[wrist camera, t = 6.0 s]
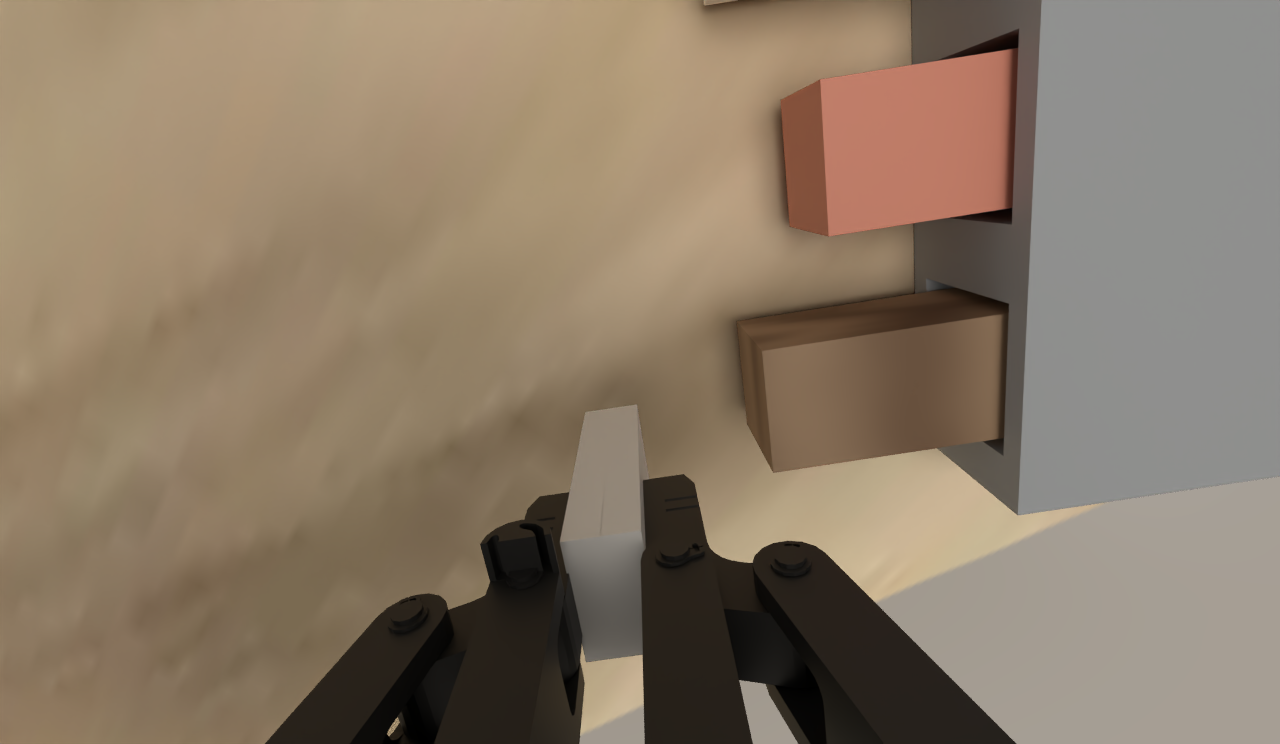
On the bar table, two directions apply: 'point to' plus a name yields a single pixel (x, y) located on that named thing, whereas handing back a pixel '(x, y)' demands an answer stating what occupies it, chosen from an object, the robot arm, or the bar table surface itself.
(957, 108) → the brick peg
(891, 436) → the walnut peg
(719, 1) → the cream peg
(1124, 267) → the socket block
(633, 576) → the robot arm
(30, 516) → the bar table surface
